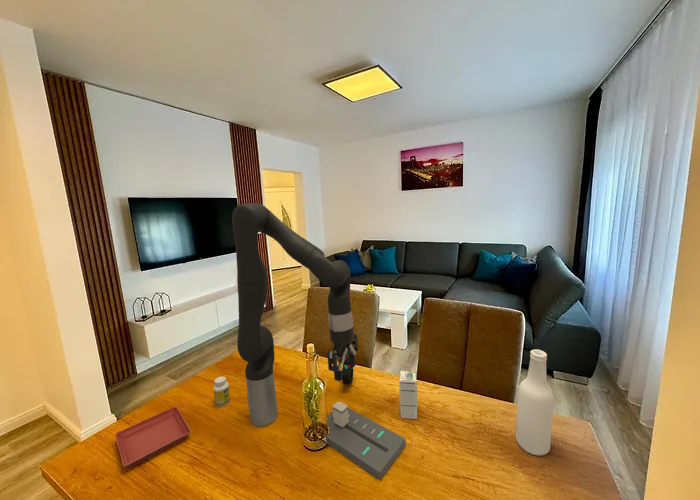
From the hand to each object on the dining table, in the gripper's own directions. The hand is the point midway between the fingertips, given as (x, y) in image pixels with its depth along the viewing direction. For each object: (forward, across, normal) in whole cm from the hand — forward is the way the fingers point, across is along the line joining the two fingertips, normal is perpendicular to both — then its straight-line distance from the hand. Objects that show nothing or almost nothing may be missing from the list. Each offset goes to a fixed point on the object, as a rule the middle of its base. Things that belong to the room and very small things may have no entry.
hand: (345, 372), depth 94 cm
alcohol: (+23, -20, +51) cm, 60 cm away
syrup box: (+22, -16, +14) cm, 30 cm away
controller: (+20, -20, -14) cm, 32 cm away
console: (+21, +3, +4) cm, 21 cm away
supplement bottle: (+19, +11, -51) cm, 55 cm away
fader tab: (+18, +2, -3) cm, 18 cm away
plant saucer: (+19, +34, -56) cm, 68 cm away
